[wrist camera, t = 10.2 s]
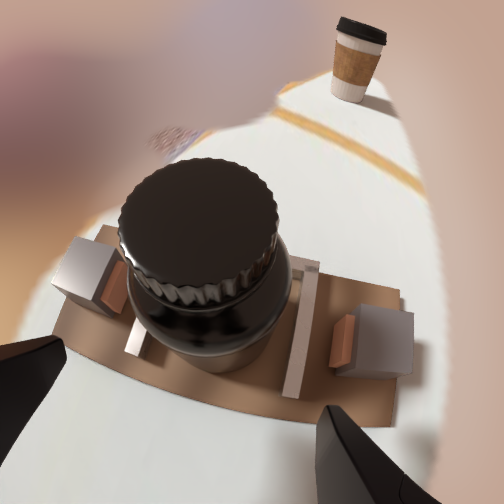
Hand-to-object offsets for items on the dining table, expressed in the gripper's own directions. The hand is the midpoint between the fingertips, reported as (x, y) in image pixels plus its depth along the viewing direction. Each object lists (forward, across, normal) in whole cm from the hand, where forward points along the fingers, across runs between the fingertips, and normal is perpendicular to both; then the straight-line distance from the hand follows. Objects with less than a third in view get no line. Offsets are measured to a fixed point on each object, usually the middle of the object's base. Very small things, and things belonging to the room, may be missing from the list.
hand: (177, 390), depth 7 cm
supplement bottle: (+10, 0, +3) cm, 11 cm away
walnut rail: (+11, 0, +4) cm, 12 cm away
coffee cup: (+41, -12, -26) cm, 50 cm away
